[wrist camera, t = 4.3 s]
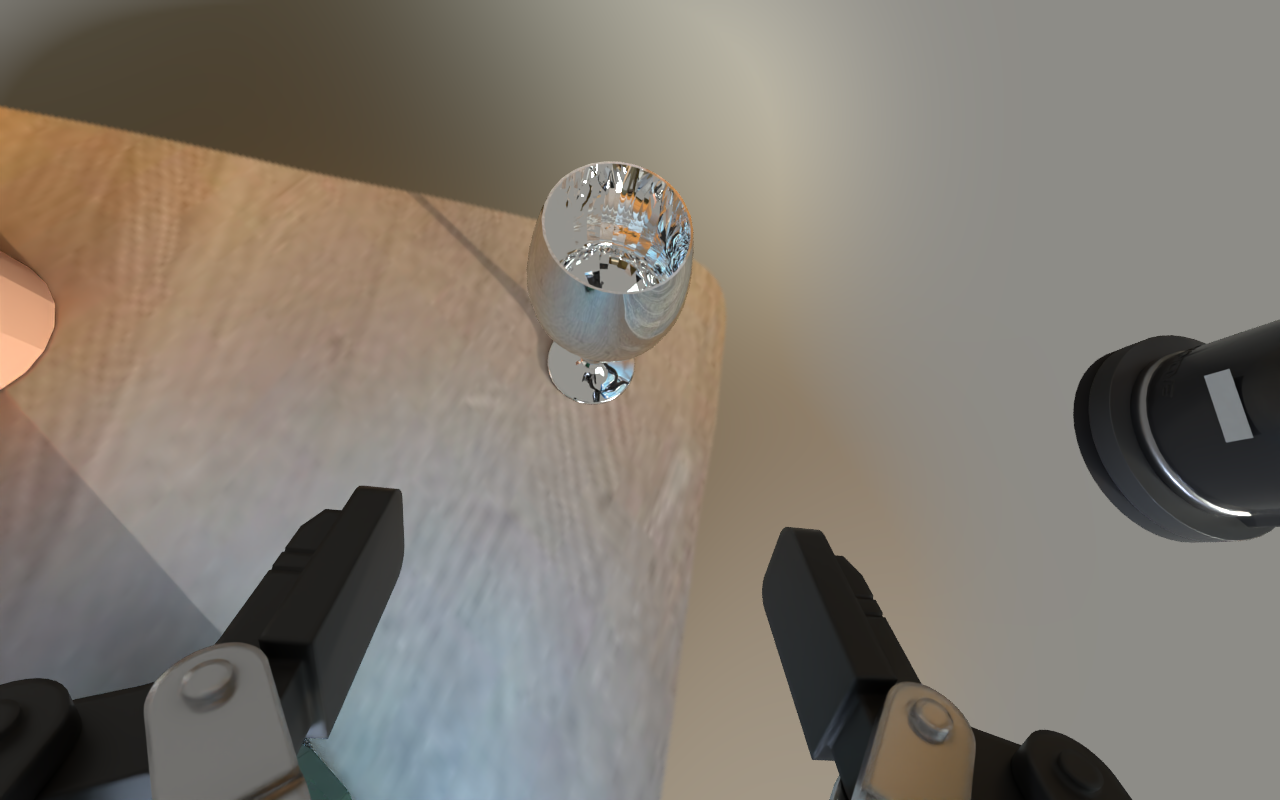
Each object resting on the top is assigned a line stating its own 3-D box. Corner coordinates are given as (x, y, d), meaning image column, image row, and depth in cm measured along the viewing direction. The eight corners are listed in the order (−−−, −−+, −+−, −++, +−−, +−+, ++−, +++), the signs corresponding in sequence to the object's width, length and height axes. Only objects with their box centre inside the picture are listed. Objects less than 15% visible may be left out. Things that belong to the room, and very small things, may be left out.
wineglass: (667, 388, 28) (744, 269, 17) (565, 436, 27) (575, 342, 15) (615, 295, 29) (656, 124, 18) (514, 336, 28) (489, 179, 16)
